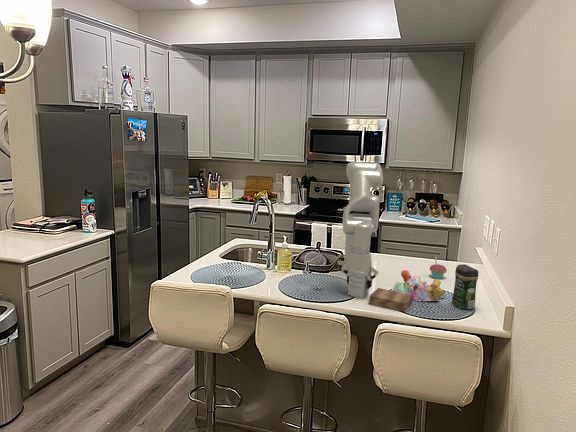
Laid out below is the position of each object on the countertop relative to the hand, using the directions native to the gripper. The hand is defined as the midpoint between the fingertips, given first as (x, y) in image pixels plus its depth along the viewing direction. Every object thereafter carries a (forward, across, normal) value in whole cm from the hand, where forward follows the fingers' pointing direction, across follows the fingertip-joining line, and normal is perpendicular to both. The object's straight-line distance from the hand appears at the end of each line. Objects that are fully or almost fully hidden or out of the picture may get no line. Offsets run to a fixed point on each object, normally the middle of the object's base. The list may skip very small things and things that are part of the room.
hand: (358, 286), depth 205 cm
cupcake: (+5, +26, +50) cm, 57 cm away
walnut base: (+4, +16, -2) cm, 17 cm away
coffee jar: (+5, +44, +14) cm, 46 cm away
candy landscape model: (+5, +23, +19) cm, 30 cm away
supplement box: (+5, 0, 0) cm, 5 cm away
